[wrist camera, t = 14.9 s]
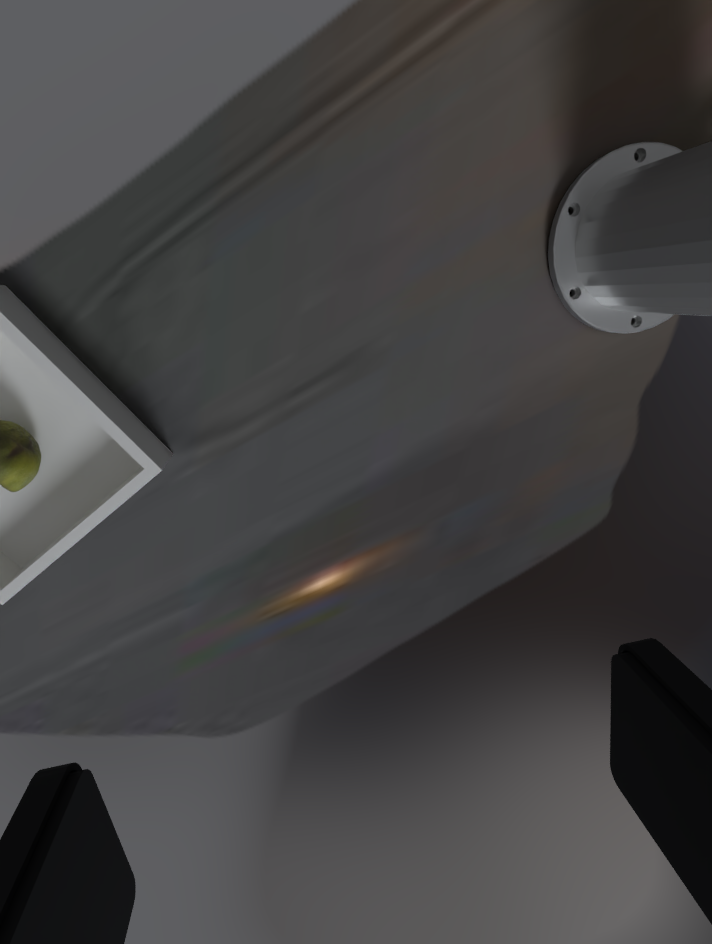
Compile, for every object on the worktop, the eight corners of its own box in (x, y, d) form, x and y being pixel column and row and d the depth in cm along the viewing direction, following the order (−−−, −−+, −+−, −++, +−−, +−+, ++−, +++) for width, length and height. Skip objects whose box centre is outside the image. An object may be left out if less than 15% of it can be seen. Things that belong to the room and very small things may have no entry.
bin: (5, 285, 35) (-29, 283, 31) (173, 453, 40) (162, 470, 36) (-154, 431, 36) (-204, 446, 32) (27, 576, 41) (2, 605, 37)
